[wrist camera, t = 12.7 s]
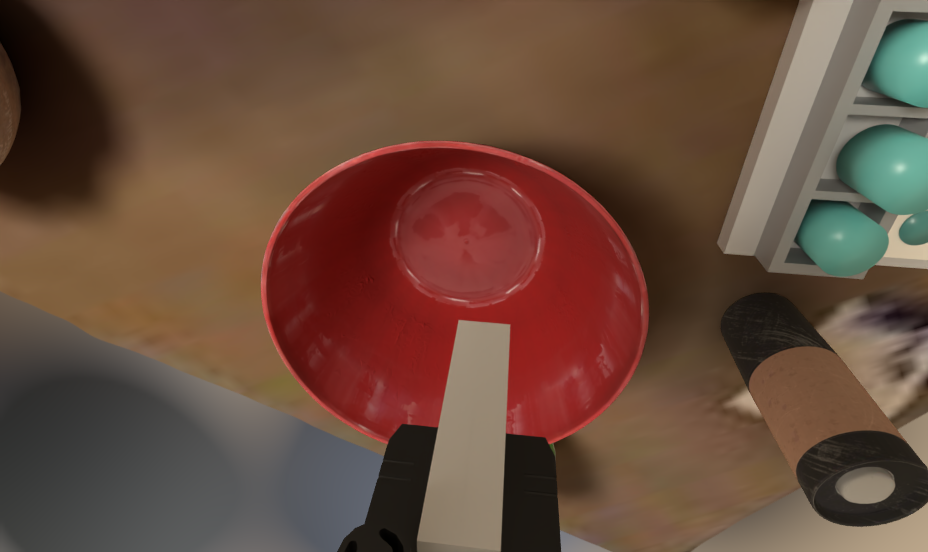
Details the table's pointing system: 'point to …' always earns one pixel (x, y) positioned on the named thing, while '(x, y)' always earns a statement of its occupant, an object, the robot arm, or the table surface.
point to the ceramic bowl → (8, 104)
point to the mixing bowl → (452, 287)
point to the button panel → (821, 137)
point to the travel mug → (823, 417)
